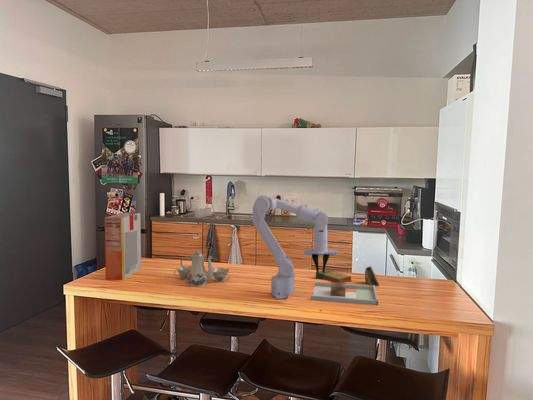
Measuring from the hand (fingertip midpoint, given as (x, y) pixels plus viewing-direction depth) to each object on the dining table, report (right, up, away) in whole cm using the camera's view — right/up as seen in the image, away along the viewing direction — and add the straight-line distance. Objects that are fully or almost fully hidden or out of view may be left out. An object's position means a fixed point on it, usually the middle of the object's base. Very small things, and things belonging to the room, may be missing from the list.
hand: (320, 271), depth 161 cm
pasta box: (-96, -7, +33) cm, 101 cm away
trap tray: (+10, -11, -1) cm, 14 cm away
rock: (+26, -10, +16) cm, 33 cm away
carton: (+9, -9, +23) cm, 26 cm away
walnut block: (+7, -9, -1) cm, 12 cm away
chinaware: (-55, -9, +20) cm, 59 cm away
